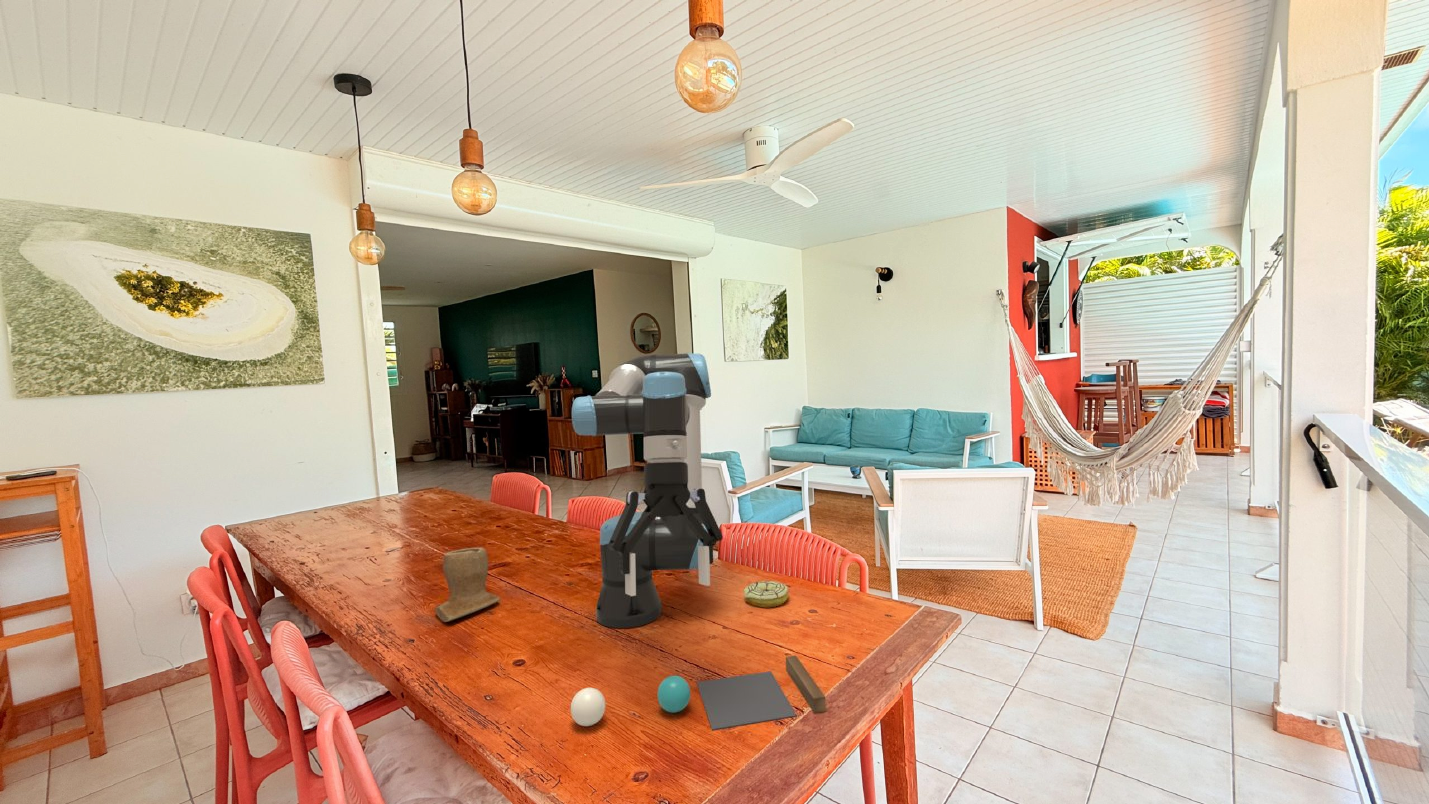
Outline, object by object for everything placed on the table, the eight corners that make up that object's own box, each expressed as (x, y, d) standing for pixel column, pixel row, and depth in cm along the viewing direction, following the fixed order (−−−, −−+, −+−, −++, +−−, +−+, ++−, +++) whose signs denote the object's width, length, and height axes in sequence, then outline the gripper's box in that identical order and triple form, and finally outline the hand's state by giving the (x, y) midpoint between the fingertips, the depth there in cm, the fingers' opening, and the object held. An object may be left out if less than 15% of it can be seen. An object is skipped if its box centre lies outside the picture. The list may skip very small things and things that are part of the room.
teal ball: (652, 715, 93) (650, 683, 93) (667, 697, 98) (666, 666, 98) (682, 722, 91) (680, 689, 91) (696, 703, 96) (695, 672, 96)
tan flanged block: (478, 595, 148) (475, 539, 148) (506, 604, 142) (503, 545, 141) (421, 617, 136) (417, 555, 135) (449, 628, 129) (445, 563, 128)
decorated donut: (750, 591, 145) (750, 576, 145) (792, 595, 142) (791, 580, 142) (739, 607, 135) (738, 591, 135) (783, 611, 132) (783, 596, 132)
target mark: (712, 730, 89) (712, 729, 89) (696, 683, 103) (696, 682, 103) (796, 716, 92) (796, 715, 92) (770, 672, 105) (770, 671, 105)
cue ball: (564, 729, 90) (562, 696, 90) (585, 710, 96) (583, 678, 95) (593, 737, 88) (591, 702, 88) (612, 716, 93) (611, 684, 93)
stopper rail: (814, 713, 92) (813, 698, 92) (786, 669, 106) (785, 656, 106) (825, 711, 93) (825, 696, 93) (796, 668, 106) (795, 655, 106)
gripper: (603, 461, 88) (604, 603, 85) (738, 459, 101) (743, 583, 98) (588, 463, 95) (589, 595, 92) (717, 461, 107) (721, 577, 104)
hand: (668, 589), depth 95 cm, fingers open, 13 cm apart
